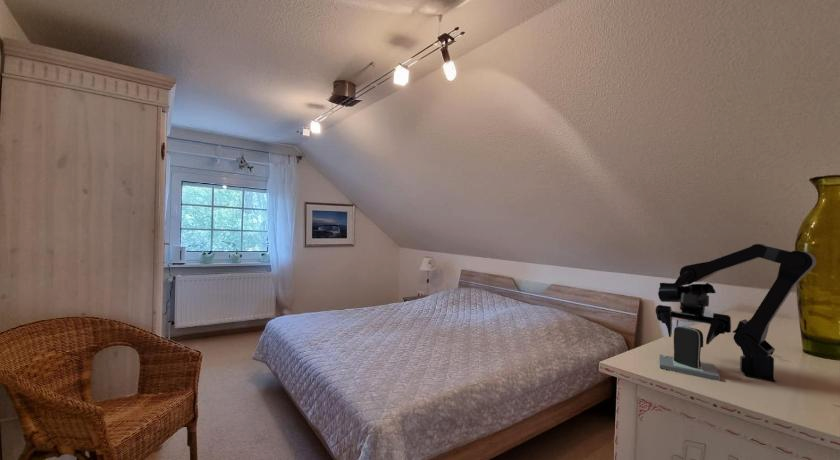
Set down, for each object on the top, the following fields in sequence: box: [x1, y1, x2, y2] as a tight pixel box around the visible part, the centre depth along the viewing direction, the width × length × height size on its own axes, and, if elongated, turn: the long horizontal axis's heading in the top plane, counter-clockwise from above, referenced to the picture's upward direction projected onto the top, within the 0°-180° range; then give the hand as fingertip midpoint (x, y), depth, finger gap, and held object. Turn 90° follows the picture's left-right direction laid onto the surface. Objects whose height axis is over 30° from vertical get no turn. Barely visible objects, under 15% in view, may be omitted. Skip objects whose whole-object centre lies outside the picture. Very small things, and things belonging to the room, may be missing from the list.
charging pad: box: [659, 354, 721, 382], centre depth 106 cm, size 14×12×1 cm
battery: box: [673, 325, 704, 368], centre depth 106 cm, size 7×4×11 cm, turn 23°
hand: (687, 339), depth 106 cm, fingers open, 9 cm apart
